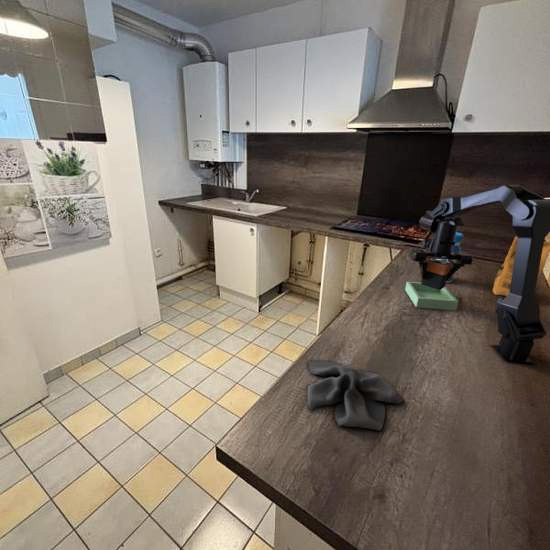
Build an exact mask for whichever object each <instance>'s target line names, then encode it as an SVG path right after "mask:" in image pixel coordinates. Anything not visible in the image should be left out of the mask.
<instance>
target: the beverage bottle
mask: <svg viewBox="0 0 550 550" xmlns="http://www.w3.org/2000/svg"><path fill="white" fill-rule="evenodd" d="M463 238H464V234H463V233H461V232H458V231H457V232H456V235H455V239H454V241H455V242H456V243H455V245H453V247H452V250H451V254H454V252H455V251H458V252H462V247H461V243H462V241H463ZM436 260H439V261H441V260H446V261H448V262H447V263H449V260H447V259H436ZM455 274H456V272H455V273H454V274H453V275H452V276H451V277H450V278H449V279H448V280H447V281H446V284H447V283H452V282H453V281H454V278H455Z"/></svg>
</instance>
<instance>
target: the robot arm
mask: <svg viewBox="0 0 550 550" xmlns="http://www.w3.org/2000/svg"><path fill="white" fill-rule="evenodd" d="M497 204H502V206H503V208H504V210H505V211H506V212H507V213H508V214H510V215H511V216H512V228H513V230H514V232H515V235H516V237H518V241H517V247H516V254H515V260H514V266H513V272H512V279H511V285H510V291H509V294H508V295H507V296H503V297H498V298H497V302H496V308H495V309H496V310H495V311H494V313H495V314H496V318H497V319H496V320H497V332H498V333H499V334H500V335H502V336H501V338H500V340H499V343H498V344H492V348H493V349H494V350H495V352H496V353H497V354H498V355H499V356H500V357H501V359H502V360H503V361H504V362H509V363H510V362H511V363H520V364H530V365H531V364H533V363H534V361H533V360H532V359H531V358H530V357H529V356H530V354H531V352H532V349H533V347H534V345H535V342H534V340H538V339H540V340H541V339H543V338H544V337H545V336H547V335H548V333H547V331H546V329H545V327H544V324H543V323H542V320H541V308H540V307H541V306H540V304H539V303H538V300H537V298H536V291H537V288H536V284H537V285H538V283H537V278H538V273H539V267H540V262H541V256H542V250H543V245H544V242H545V239H546V237H547V236H548V235H549V234H550V199H546V198H545V197H544V196H541V195H539V194H537V193H535V192H533V191H530V190H528V189H526V188H525V187H523V186H521V184H503V185H501V186H499V187H495V188H492V189H488V190H485V191H481V192H477V193H474V194H470V195H466V196H457V197H444V198H441V199H440V202H439V204H438V205H437V206H436V207H435V208H434V209H433V210H426V213H425V214H423V215H422V216H421V218H420V219H419V222H418V226H419V228H420V229H422V230H424V231H427V232H430V233H432V234H433V233H434V234H435V235H434V236H433V238H432V240H431V239H430V238H422V240H421V244H420V245H421V248H424V249H425V251H424V250H423V249H419V248H411V249H410V250H409V253H408V257H409V258H410V259H411V261H413V262H417V264H418V265H419V270H420V277H421V280H422V279H424V277H425V274H426V270H427V266H428V263H427V262H426V261H427V260H428V259H447V260H449V263H450V264H451V265H450V269H449V273H448V276H447V280H448V279H449V278H450V277H451V276H452V275H453V274H454V273H455V274H456V272H457V271H459V270H460V269H461V268H463V267H465V266H466V265H468V266H469V265H471V266H472V264H473V262H474V257H473V255H471V254H469V253H468V252H467V251H461V252H458V251H455V252H454V254H451V250H452V247H453V245H455V243H456V242H455V241H454V239H455V235H456V232H458V228H459V227H463V226H465V222H464V221H463V220H462V218H461V217H462V216H464V215H467V214H468V213H470V212H471V211H473V210H476V209H479V208H484V207H489V206H493V205H497ZM426 251H428V252H426ZM455 274H454V275H455ZM447 280H446V281H447ZM535 290H536V291H535Z"/></svg>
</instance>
